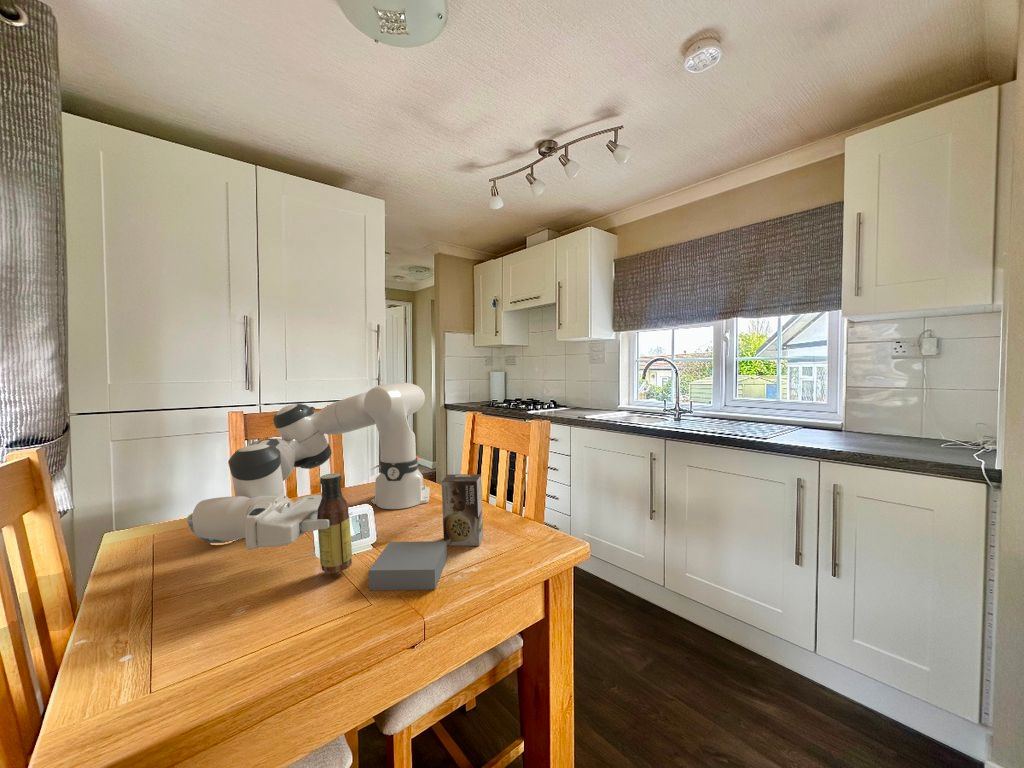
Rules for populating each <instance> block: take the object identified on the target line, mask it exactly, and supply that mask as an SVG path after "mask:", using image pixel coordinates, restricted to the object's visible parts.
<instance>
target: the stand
mask: <svg viewBox="0 0 1024 768" xmlns="http://www.w3.org/2000/svg"><path fill="white" fill-rule="evenodd" d="M447 561H448V545H447V541H444V540H439V541H438V540H434V541H425V540H424V541H422V540H421V541H389V542H388V543H387V545H386V546H385V547H384V548H383V550H382V552H381V553H380V554H379V556H378V557H377V558H376V560H375V561H374V562H373V563H372V565H371V566H370V568H369V569H368V590H369V591H430V590H431V591H433V590H432V589H435V590H436V589H437V587H436V586H438V583H439V582H440V581H439V580H440V579H439V578H441V575H442V573H443V570H444V568H445V565H446V562H447ZM429 589H430V590H429Z"/></svg>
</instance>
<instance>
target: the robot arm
mask: <svg viewBox="0 0 1024 768" xmlns="http://www.w3.org/2000/svg"><path fill="white" fill-rule="evenodd" d="M425 400H426V395H425V393H424V390H423V389H422V388H421V386H419V385H416V384H414V383H411V382H396V383H393V382H392V383H383V384H379V385H377V386H374V387H372V388H371V389H369V390H368V391H367V392H362V393H359V394H356V395H353V396H350V397H346V398H344V399H340V400H337V401H334V402H332V403H331V404H328V405H326V406H324V407H323V408H322V409H320V410H318V411H315V410H316V407H314V406H309V405H307V404H303V403H294V404H289V405H286V406H284V407H282V408H281V409H279V410H278V411H277V412H276V413H275V414H274V416H273V418H272V419H273V425H274V426H275V429H277V432H278V433H279V435H280V438H265V439H263V438H262V439H259V440H256V441H254V442H252V443H251V444H249V445H246V446H244V447H241V448H239V449H237V450H235V452H234V453H233V454H232V455H231V456H230V458H229V459H228V462H227V463H228V466H229V471H230V475H231V477H232V479H231V480H232V484H233V490H234V495H233V496H225V497H223V496H222V497H212V498H207V499H203V500H200V501H199V502H198V503H197V504H196V505H195V507H194V509H193V512H192V513H193V514H192V513H191V514H192V527H193V531H194V533H195V534H196V535H197V536H199V537H202V538H206V539H214V540H237V539H239V540H241V539H245V546H246V549H247V550H256V549H259V548H274V547H275V548H276V547H284V546H287V545H290V544H293V543H294V542H295V541H296V540H298V539H300V537H302V536H303V535H304V534H305V533H310V532H313V531H314V532H315V531H318V530H319V529H327V528H329V527H330V526H331V518H322V519H317V515H318V507H319V505H320V502H321V499H322V494H313V495H311V494H310V495H306V496H302V497H301V498H299V499H297V500H295V501H294V502H293V501H291V499H290V498H289V497H288V496H286V494H285V488H284V487H285V486H284V481H286V480H287V479H288V478H289V477H290V476H291V474H292V472H293V471H294V468H301V469H307V470H310V469H315V468H317V467H318V468H319V466H322V465H323V464H324V463H326V462H327V461H328V460H329V459H330V457H331V456H332V449H331V445H330V443H328V440H327V438H326V436H325V435H338V434H345V433H350V432H353V431H356V430H360V429H363V428H364V429H365V428H367V427H370V426H374V425H375V426H376V428H377V432H378V436H379V447H380V460H379V466H378V468H379V472H380V474H379V475H378V476H376V477H375V488H374V489H375V490H374V498H372V499H370V503H371V502H372V503H373V504H372V503H371V504H372V505H375V504H376V505H375V506H377V507H378V508H381V509H385V510H401V509H406V508H412V507H414V506H418V505H421V504H426V503H429V502H430V494H431V492H430V491H431V490H430V488H431V487H429V486H425V485H424V475H423V474H422V472H421V471H420V470H419V456H418V455H417V448H416V446H417V443H416V435H415V432H414V431H413V430H412V429H411V427H410V425H409V420H408V416H410V415H414V413H416V412H418V411H419V410H420V409H422V407H424V404H425ZM194 533H193V534H194ZM195 534H194V535H195ZM196 535H195V536H196ZM197 536H196V537H197ZM199 537H198V538H199Z"/></svg>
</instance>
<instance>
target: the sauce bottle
mask: <svg viewBox="0 0 1024 768" xmlns="http://www.w3.org/2000/svg"><path fill="white" fill-rule="evenodd" d="M319 480H320V482H319V483H320V485H321V495H322V499H321V502H320V505H319V507H318V515H317V519H322V518H331V526H330V527H329V528H327V529H319V530H317V535H318V536H317V537H318V548H319V550H318V551H319V563H320V565H321V567H320V568H321V570H322V572H324V573H327V574H335V573H340V572H343V571H345V570H347V569H348V568H351V566H352V564H353V561H352V557H353V550H352V549H353V548H352V535H351V534H352V533H351V520H350V515H349V505H348V502H347V500H346V499H345V497H344V496H343V493H342V492H343V491H342V484H341V482H342V475H341V473H339V472H338V473H336V472H334V473H327V474H324V475H321V476H320V477H319Z"/></svg>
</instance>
